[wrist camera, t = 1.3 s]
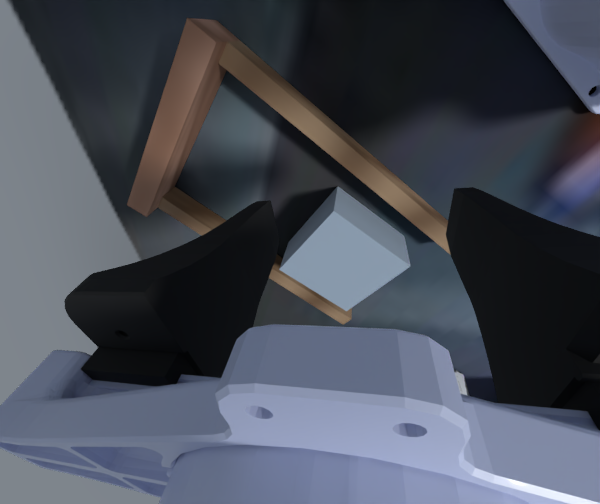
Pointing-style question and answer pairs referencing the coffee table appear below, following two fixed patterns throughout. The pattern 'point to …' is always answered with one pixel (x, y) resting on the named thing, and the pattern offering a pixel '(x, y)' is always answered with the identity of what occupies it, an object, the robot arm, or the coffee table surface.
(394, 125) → the coffee table surface
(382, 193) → the track
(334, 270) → the keeper
